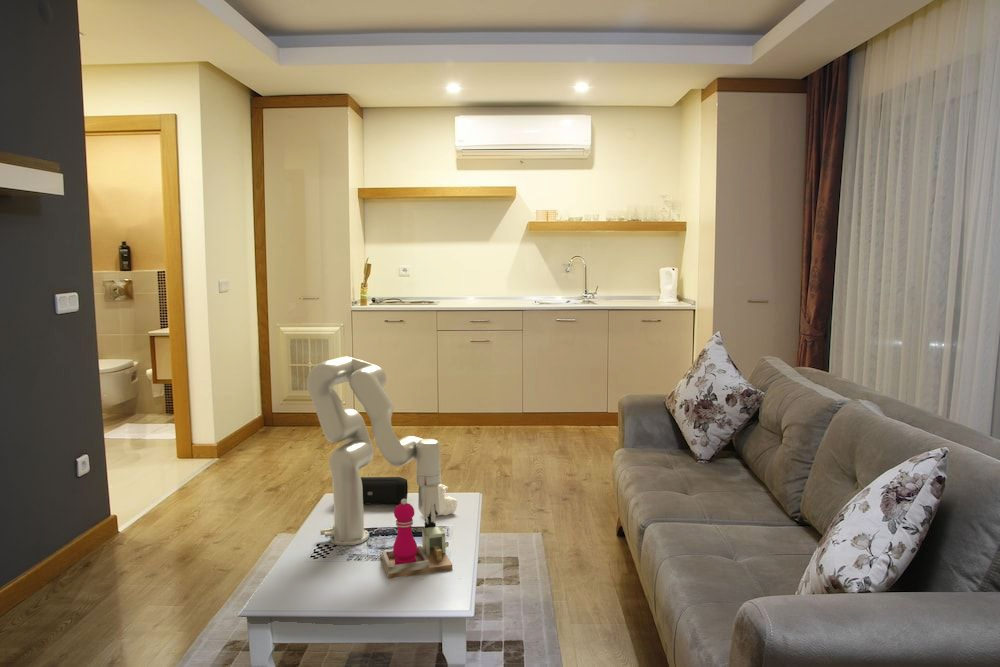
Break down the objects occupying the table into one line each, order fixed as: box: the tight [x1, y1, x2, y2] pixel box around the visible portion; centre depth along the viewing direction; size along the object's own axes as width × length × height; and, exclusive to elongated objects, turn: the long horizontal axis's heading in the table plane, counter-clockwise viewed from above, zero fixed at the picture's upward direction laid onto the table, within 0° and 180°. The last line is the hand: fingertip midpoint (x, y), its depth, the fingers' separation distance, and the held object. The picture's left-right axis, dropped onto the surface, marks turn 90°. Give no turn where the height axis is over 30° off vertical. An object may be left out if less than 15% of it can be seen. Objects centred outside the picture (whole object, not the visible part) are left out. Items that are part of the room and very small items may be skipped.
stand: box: [379, 545, 453, 580], centre depth 217 cm, size 19×16×4 cm
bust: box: [438, 483, 458, 516], centre depth 259 cm, size 12×8×11 cm
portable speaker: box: [360, 476, 409, 505], centre depth 270 cm, size 26×10×10 cm, turn 90°
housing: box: [421, 525, 447, 556], centre depth 222 cm, size 6×6×6 cm
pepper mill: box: [392, 499, 418, 565], centre depth 212 cm, size 7×7×20 cm
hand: (430, 534), depth 227 cm, fingers closed
